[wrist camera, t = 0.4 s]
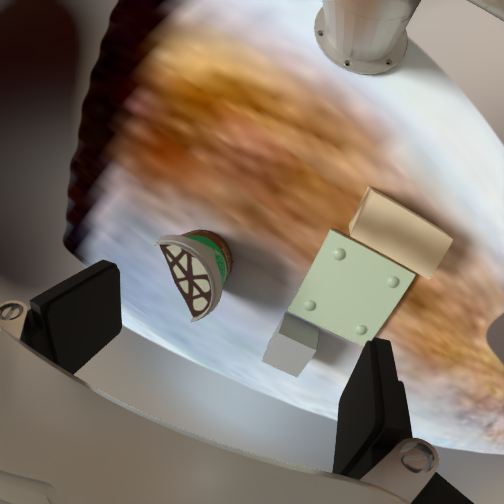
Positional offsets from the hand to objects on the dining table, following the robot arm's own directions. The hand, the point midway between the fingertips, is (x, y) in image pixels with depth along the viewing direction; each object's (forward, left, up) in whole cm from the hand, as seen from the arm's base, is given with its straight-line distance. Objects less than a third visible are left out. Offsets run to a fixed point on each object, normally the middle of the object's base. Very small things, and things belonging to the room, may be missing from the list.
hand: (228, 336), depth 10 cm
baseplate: (+10, +12, -33) cm, 37 cm away
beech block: (-2, +13, -34) cm, 36 cm away
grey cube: (+21, +8, -34) cm, 40 cm away
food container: (+14, -8, -34) cm, 37 cm away
